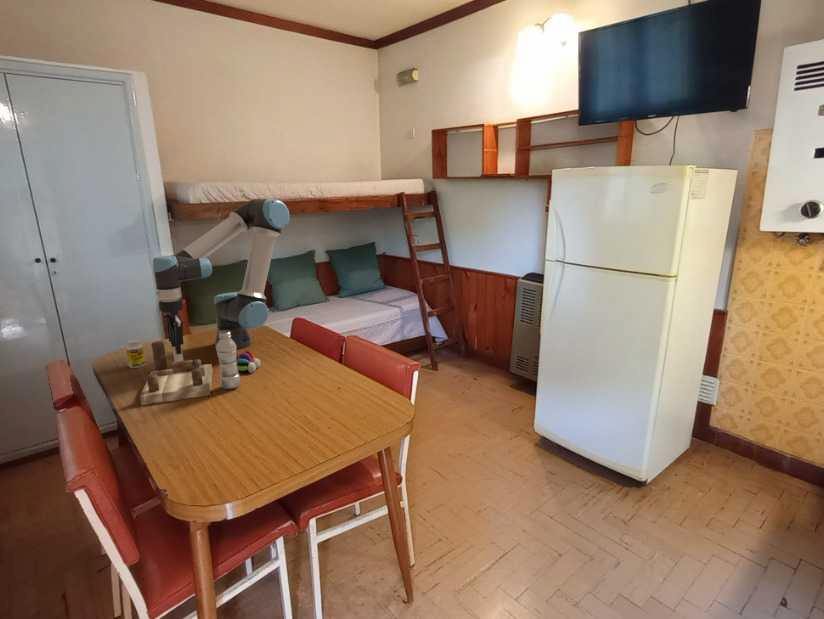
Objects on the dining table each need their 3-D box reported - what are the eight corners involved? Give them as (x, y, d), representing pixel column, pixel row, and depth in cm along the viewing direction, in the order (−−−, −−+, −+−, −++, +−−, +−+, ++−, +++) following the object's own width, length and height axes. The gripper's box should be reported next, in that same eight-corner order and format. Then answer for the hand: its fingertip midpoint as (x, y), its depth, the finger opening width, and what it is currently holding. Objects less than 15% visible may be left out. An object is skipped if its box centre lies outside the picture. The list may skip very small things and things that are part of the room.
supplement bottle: (131, 369, 174) (127, 344, 172) (127, 365, 178) (123, 340, 175) (147, 365, 178) (143, 340, 175) (143, 362, 182) (139, 337, 179)
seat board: (212, 371, 172) (210, 351, 170) (209, 395, 152) (207, 372, 150) (152, 379, 165) (149, 358, 163) (141, 405, 145) (137, 381, 143)
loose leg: (168, 368, 176) (164, 340, 173) (167, 371, 172) (162, 344, 169) (156, 369, 174) (152, 342, 171) (155, 373, 171) (150, 345, 168)
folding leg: (201, 366, 168) (200, 358, 167) (201, 368, 166) (200, 361, 165) (173, 369, 165) (172, 362, 164) (172, 372, 163) (171, 364, 162)
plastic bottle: (234, 392, 154) (228, 335, 149) (216, 390, 155) (209, 334, 150) (245, 384, 160) (239, 329, 155) (227, 382, 162) (221, 328, 157)
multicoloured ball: (263, 365, 178) (261, 348, 176) (252, 375, 168) (250, 356, 166) (242, 365, 178) (240, 347, 177) (230, 374, 169) (228, 356, 167)
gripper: (152, 298, 166) (162, 359, 172) (165, 304, 157) (174, 368, 163) (174, 295, 171) (182, 354, 177) (187, 300, 162) (196, 363, 168)
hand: (178, 361), depth 170 cm, fingers closed
